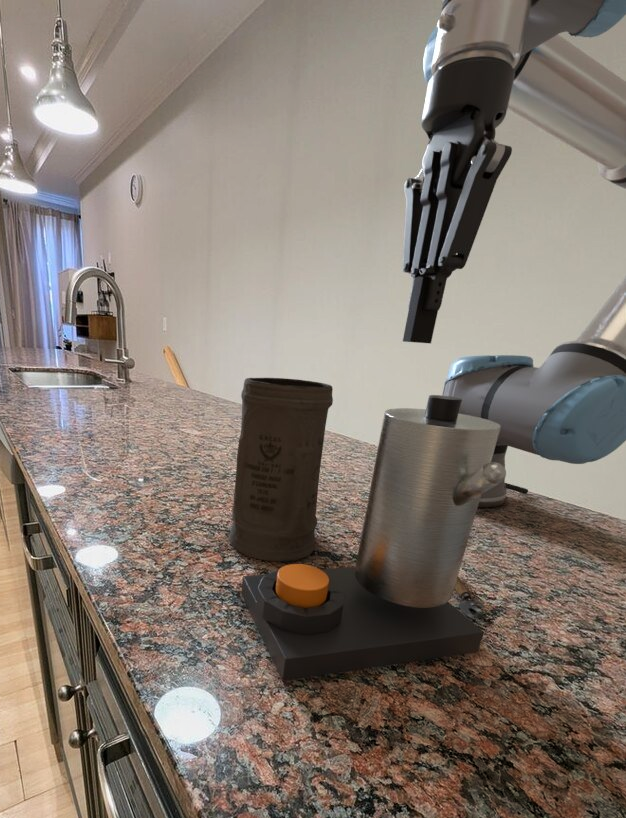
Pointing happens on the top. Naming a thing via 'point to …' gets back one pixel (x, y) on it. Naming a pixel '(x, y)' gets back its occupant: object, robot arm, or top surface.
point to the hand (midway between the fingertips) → (416, 342)
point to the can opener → (467, 601)
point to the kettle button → (302, 585)
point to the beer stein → (279, 467)
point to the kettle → (425, 501)
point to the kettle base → (352, 628)
